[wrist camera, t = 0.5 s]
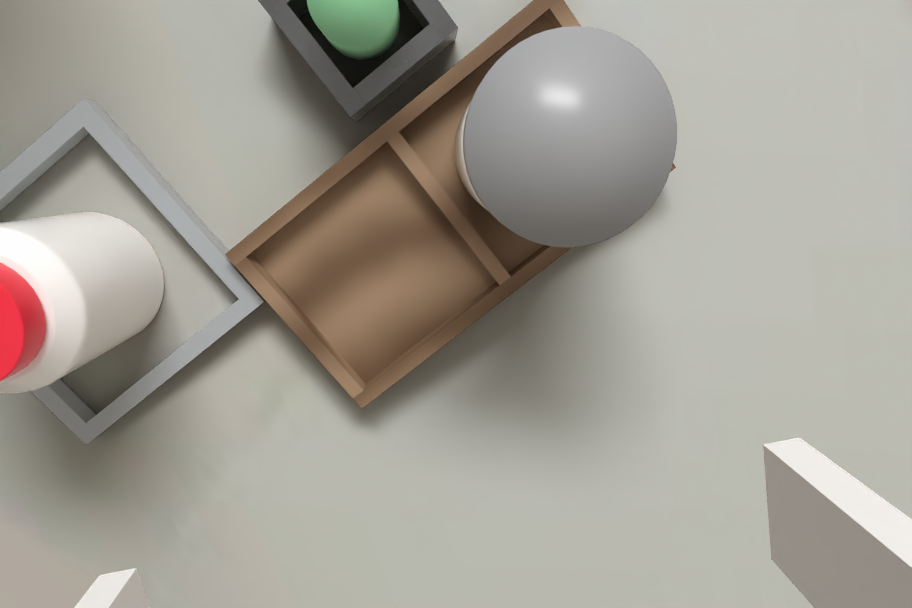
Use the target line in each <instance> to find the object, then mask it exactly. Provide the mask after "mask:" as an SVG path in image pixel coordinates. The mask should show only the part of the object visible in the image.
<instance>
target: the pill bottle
mask: <svg viewBox="0 0 912 608" xmlns="http://www.w3.org/2000/svg"><path fill="white" fill-rule="evenodd" d="M163 293H164V277H163V271H162V267H161V264H160V261H159V259H158V257H157V255H156V253H155V251H154V249H153V247H152V246H151V245H150V244H149V242H148V241H147V240H146V238H145V237H144V236H143V235H142V234H140V233H139V232H138V231H137V230H136V229H135V228H134V227H132V226H130V225H129V224H127V223H126V222H124V221H123V220H120V219H118V218H115V217H113V216H110V215H107V214H102V213H97V212H76V213H69V214H61V215H54V216H46V217H39V218H31V219H23V220H16V221H8V222H1V223H0V393H21V392H27V391H32V390H37V389H39V388H42V387H44V386H47V385H49V384H52V383H53V382H55V381H57V380H59V379H60V378H62V377H64V376H66V375H67V374H69V373H71V372H72V371H74V370H76V369H78V368H79V367H81V366H83V365H85V364H86V363H88V362H90V361H91V360H93V359H95V358H97V357H98V356H100V355H102V354H104V353H105V352H107V351H109V350H110V349H112V348H114V347H116V346H117V345H119V344H121V343H122V342H124V341H126V340H128V339H129V338H131V337H133V336H134V335H136V334H137V333H139V332H140V331H142V330H143V329H145V327H146V326H147V325H148V324H149V323H150V322H151V321H152V320H153V319H154V317H155V315H156V314H157V312H158V310H159V308H160V305H161V302H162V299H163Z"/></svg>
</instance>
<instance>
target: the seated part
mask: <svg viewBox="0 0 912 608" xmlns="http://www.w3.org/2000/svg"><path fill="white" fill-rule="evenodd" d="M676 142H677V123H676V115H675V109H674V105H673V101H672V98H671V95H670V92H669V90H668V87H667V85H666V83H665V81H664V79H663V78H662V76H661V74H660V72H659V71H658V70H657V68H656V67H655V66H654V64H653V63H652V62H651V60H650V59H649V58H648V57H647V56H646V55H645V54H644V53H643V52H642V51H641V50H639V49H638V48H637V47H635V46H634V45H633V44H631V43H630V42H628V41H626V40H625V39H623V38H621V37H619V36H617V35H615V34H612V33H609V32H607V31H604V30H600V29H595V28H591V27H579V26H572V27H560V28H555V29H551V30H546V31H543V32H541V33H538V34H535V35H533V36H531V37H529V38H527V39H525V40H523V41H521V42H520V43H518V44H517V45H515V46H514V47H513V48H511V49H510V50H508V51H507V52H506V53H505V54H504V55H503V56H502V57H501V58H500V59H499V60H498V61H497V62H496V63H495V64H494V65H493V66H492V68H491V69H490V70H489V71H488V72H487V74H486V75H485V77H484V79H483V80H482V82H481V83H480V85H479V86H478V88H477V90H476V92H475V94H474V96H473V98H472V100H471V102H470V103H469V105H468V106H467V108H466V110H465V111H464V113H463V115H462V117H461V119H460V122H459V125H458V128H457V132H456V137H455V149H454V150H455V161H456V166H457V170H458V173H459V176H460V179H461V181H462V183H463V185H464V187H465V188H466V190H467V191H468V193H469V194H470V195H471V196H472V197H473V199H474V200H475V201H476V202H477V203H478V204H480V205H481V206H482V207H483V208H485V209H486V210H487V211H489V212H490V213H491V215H492V216H493V217H495V218H496V219H497V220H498V221H499V222H500V223H501V224H503V225H504V226H505V227H507V228H508V229H510V230H511V231H513V232H514V233H516V234H517V235H519V236H521V237H523V238H526V239H528V240H530V241H533V242H536V243H539V244H542V245H547V246H553V247H566V248H570V247H582V246H587V245H591V244H596V243H598V242H601V241H604V240H607V239H609V238H611V237H613V236H615V235H617V234H619V233H621V232H622V231H624V230H625V229H627V228H628V227H630V226H631V225H632V224H634V223H635V222H636V221H637V220H638V219H639V218H640V217H642V216H643V214H644V213H645V212H646V211H647V210H648V209H649V208H650V207H651V206H652V204H653V203H654V201H655V200H656V198H657V197H658V196H659V194H660V192H661V190H662V189H663V187H664V185H665V183H666V181H667V178H668V176H669V173H670V171H671V168H672V164H673V160H674V156H675V150H676Z"/></svg>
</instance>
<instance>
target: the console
mask: <svg viewBox="0 0 912 608" xmlns="http://www.w3.org/2000/svg"><path fill="white" fill-rule="evenodd" d="M258 1H259V2H260V3H261V5H262V6H263V7H264V9H265V10H266V11H267V12H268V14H269V15H270V16H271V17H272V19H273V20H274V21H275V22H276V24H277V25H278V26H279V28H280V29H281V30H282V31H283V33H284V34H285V35H286V36H287V38H288V39H289V40H290V41H291V43H292V44H293V45H294V47H295V48H296V49H297V50H298V52H299V53H300V54H301V55H302V57H303V58H304V59H305V60H306V62H307V63H308V64H309V66H310V67H311V68H312V69H313V71H314V72H315V73H316V74H317V76H318V77H319V78H320V79H321V81H322V82H323V83H324V85H325V86H326V87H327V88H328V90H329V91H330V92H331V93H332V95H333V96H334V97H335V98H336V100H337V101H338V102H339V104H340V105H341V106H342V107H343V109H344V110H345V111H346V112H347V114H348V115H349V116H350V117H351V118H352V119H354V120H355V121H358V120H359V119H360V118H362V117H363V116H364V115H365V114H366V113H368V112H369V111H370V110H371V109H372V108H374V107H375V106H376V105H377V104H378V103H380V102H381V101H382V100H383V99H385V98H386V97H387V96H388V95H389V94H391V93H392V92H393V91H394V90H395V89H397V88H398V87H399V86H400V85H401V84H403V83H404V82H405V81H406V80H407V79H409V78H410V77H411V76H412V75H413V74H415V73H416V72H417V71H418V70H420V69H421V68H422V67H423V66H424V65H426V64H427V63H428V62H429V61H430V60H432V59H433V58H434V57H435V56H436V55H438V54H439V53H440V52H441V51H442V50H444V49H445V48H446V47H447V46H448V45H450V44H451V43H452V42H453V41H455V39H456V34H457V30H458V27H457V26H456V24H455V23H454V21H453V20H452V19H451V17H450V16H449V15H448V13H447V12H446V10H445V9H444V8H443V6H442V5H441V3H440V2H439V1H438V0H403V1H404V2H405V3H406V5H407V6H408V8H409V9H410V10H411V12H412V13H413V14H414V16H415V17H416V18H417V20H418V21H419V23H420V24H421V25H422V27H423V28H424V29H423V30H422V31H421V32H420V33H418V34H417V35H416V36H415V37H414V38H412V39H411V40H410V41H409V42H408V43H406V44H405V45H404V46H403V47H402V48H400V49H399V50H398V51H397V52H396V53H394V54H393V55H392V56H391V57H390V58H388V59H387V60H386V61H385V62H384V63H382V64H381V65H380V66H379V67H378V68H376V69H375V70H374V71H373V72H372V73H370V74H369V75H368V76H367V77H366V78H364V79H363V80H362V81H361V82H360V83H359V84H357V85H356V86H355V87H354V88H353V87H352V85H351V84H350V83H349V82H348V80H347V79H346V78H345V76H344V75H343V74H342V73H341V71H340V70H339V69H338V68H337V66H336V65H335V64H334V62H333V61H332V60H331V59H330V57H329V56H328V55H327V53H326V52H325V51H324V50H323V48H322V47H321V46H320V44H319V43H318V42H317V41H316V39H315V38H314V37H313V35H312V34H311V33H310V32H309V30H308V29H307V28H306V26H305V25H304V24H303V23H302V21H301V20H300V19H299V17H300V16H302V15H303V14H304V13H305V12H306V11H307V10H309V9H308V5H307V0H258Z"/></svg>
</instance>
